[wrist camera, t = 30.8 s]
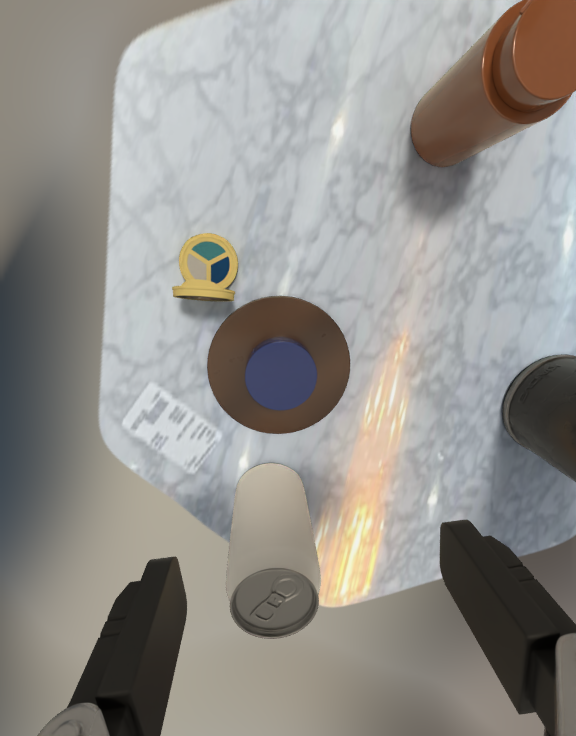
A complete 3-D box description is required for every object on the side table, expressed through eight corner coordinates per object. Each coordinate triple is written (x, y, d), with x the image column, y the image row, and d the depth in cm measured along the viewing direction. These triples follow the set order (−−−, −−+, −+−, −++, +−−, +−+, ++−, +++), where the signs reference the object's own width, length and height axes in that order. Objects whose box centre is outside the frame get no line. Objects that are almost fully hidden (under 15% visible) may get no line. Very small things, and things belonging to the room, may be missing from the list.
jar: (496, 122, 27) (638, 37, 17) (444, 183, 28) (550, 137, 18) (447, 65, 26) (568, -64, 16) (395, 130, 27) (478, 49, 17)
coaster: (376, 356, 31) (379, 357, 31) (288, 454, 33) (289, 458, 33) (268, 264, 29) (268, 264, 28) (179, 378, 31) (178, 380, 30)
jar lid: (230, 373, 30) (229, 380, 28) (276, 321, 29) (277, 325, 28) (283, 414, 32) (284, 423, 30) (327, 366, 31) (332, 373, 29)
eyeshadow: (238, 235, 28) (234, 230, 23) (237, 301, 29) (232, 309, 25) (180, 231, 28) (163, 225, 23) (181, 298, 29) (165, 305, 24)
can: (317, 482, 34) (345, 592, 23) (277, 530, 36) (285, 657, 24) (261, 448, 33) (262, 547, 22) (222, 499, 34) (202, 618, 23)
